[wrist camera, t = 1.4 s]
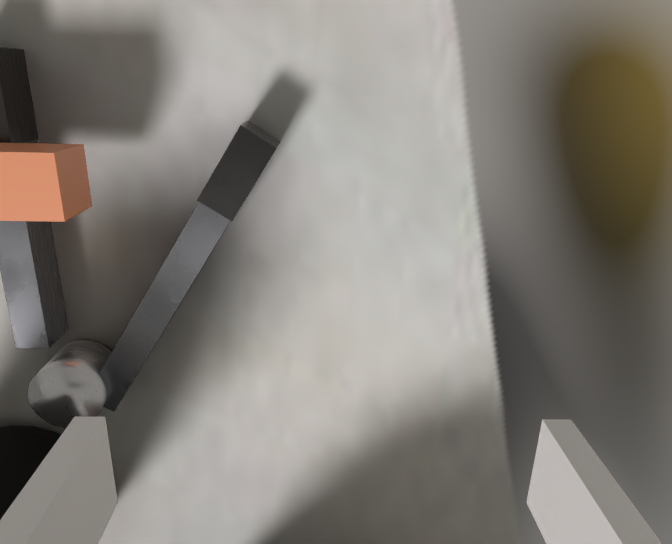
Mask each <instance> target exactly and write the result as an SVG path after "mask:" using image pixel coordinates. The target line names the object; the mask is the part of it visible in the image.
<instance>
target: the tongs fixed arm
mask: <svg viewBox="0 0 672 544" xmlns="http://www.w3.org/2000/svg"><path fill="white" fill-rule="evenodd" d="M37 140H38V134H37V128H36V122H35V116H34V110H33V104H32V98H31V92H30V86H29V80H28V74H27V68H26V62H25V56H24V50H22V49H10V48H0V143H37ZM0 271H1V276H2V281H3V286H4V291H5V295H6V300H7V305H8V310H9V315H10V320H11V324H12V329H13V334H14V339H15V344H16V348H50V347H51V346H52V345H53V344H54V343H55V342H56V341H57V340H58V339H59V338H60V337H61V336H62V335H63V334H64V333H65V332H66V331H67V330H68V326H67V320H66V314H65V308H64V302H63V296H62V290H61V284H60V278H59V272H58V266H57V260H56V254H55V248H54V242H53V236H52V230H51V224H50V222H48V221H0Z"/></svg>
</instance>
